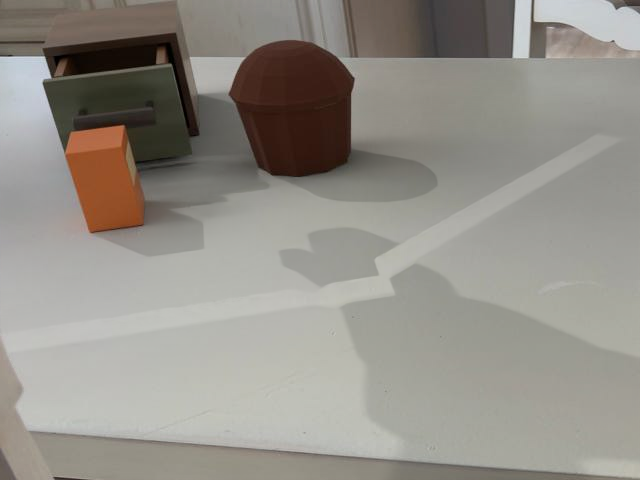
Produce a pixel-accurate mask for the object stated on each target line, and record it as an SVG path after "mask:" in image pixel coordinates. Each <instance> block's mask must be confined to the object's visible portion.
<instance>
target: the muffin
mask: <svg viewBox="0 0 640 480" xmlns="http://www.w3.org/2000/svg"><path fill="white" fill-rule="evenodd" d="M355 80H356V77H355V76H354V75H353V74H352V73H351V72H350V70H349V68H347V67H346V65H345V64H344V62H342V61H341V59H340V58H339V57H337V56H336V55H335V54H333V53H332V52H331V51H330V50H327V49H325V48H323V47H322V46H319V45H317V44H316V43H313V42H312V41H311V42H310V41H305V40H298V39H284V40H276V41H272V42H269V43H266V44H263V45H261V46H259V47H257V48H255V49H254V50H253V51H252V52H250V53H249V54H248V55H247V56H246V57H245V58H244V59H243V60H242V61H241V63H240V64H239V66H238V69H237V71H236V73H235V75H234V78H233V81H232V84H231V87H230V90H229V92H228V94H227V95H228V96H229V97H230V99H231V100H232V102H233V103H234V104H235V106H236V110H237V112H238V114H239V118H240V120H241V124H242V126H243V129H244V131H245V134H246V137H247V139H248V142H249V146H250V148H251V151H252V154H253V157H254V159H255V162H256V165H257V168H259V169H261V170H264V171H266V172H267V173H268V174H269V175H271V176H289V177H290V176H291V177H303V176H307V175H313V174H320V173H321V174H322V173H328V172H330V171H332V170H333V169H335V168H337V167H339V166H342V165H345V164H347V163H348V162H349V156H350V155H351V153H352V93H353V89H354V87H355Z"/></svg>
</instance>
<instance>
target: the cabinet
mask: <svg viewBox="0 0 640 480" xmlns="http://www.w3.org/2000/svg"><path fill="white" fill-rule="evenodd" d="M180 13H181V12H180V9H179V5H178V1H177V0H166V1H157V2H147V3H139V4H129V5H121V6H113V7H103V8H95V9H87V10H86V9H85V10H78V11H69V12H60V13H59V12H58V13H56V16H55V18H54V20H53V22H52V25H51V28H50V30H49V32H48V34H47V37H46V39H45V41H44V43H43V46H42V48H41V49H42V53H43V56H44V59H45V62H46V65H47V69H48V72H49V75H50V78H54V75H55V72H56V70H57V67H58V64H59V61H60V59H61V56H62V55H68V54H76V53H84V52H93V51H101V50H109V49H118V48H126V47H135V46H143V45H151V44H160V43H168V44H169V48H170V53H171V57H172V61H173V65H174V69H175V74H176V78H177V82H178V86H179V91H180V95H181V99H182V103H183V108H184V118H185V122H186V126H187V130H188V134H189V137H193V136H199V135H200V134H201V133H200V132H201V131H200V113H199V92H198V89H197V84H196V80H195V75H194V70H193V67H192V62H191V58H190V53H189V48H188V43H187V40H186V35H185V30H184V27H183V22H182V17H181V14H180Z"/></svg>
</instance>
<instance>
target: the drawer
mask: <svg viewBox="0 0 640 480" xmlns="http://www.w3.org/2000/svg"><path fill="white" fill-rule="evenodd" d="M41 85H42V87H43V91H44V93H45V97H46V99H47V102H48V106H49V109H50V112H51V116H52V118H53V122H54V125H55V127H56V131H57V134H58V137H59V140H60V143H61V147H62V150H63V153H64V154H65V152H66V148H67V145H68V141H69V137H70V134H71V132H76V131H83V130H91V129H99V128H106V127H114V126H122V125H124V126H125V128H126V132H127V136H128V139H129V143H130V147H131V150H132V154H133V158H134V161H135V163H137V162H145V161H153V160H159V159H166V158H167V159H168V158H173V157H182V156H188V155H189V156H190V155H193V148H192V144H191V139H190V136H189V134H188V130H187V126H186V122H185V118H184V108H183V103H182V99H181V95H180V91H179V86H178V82H177V78H176V74H175V69H174V65H173V61H172V57H171V53H170V48H169V44H168V43H160V44H151V45H143V46H135V47H126V48H118V49H109V50H101V51H93V52H84V53H76V54H68V55H62V56H61V59H60V61H59V64H58V67H57V70H56V72H55V75H54V78H51V77H50V78H44V79H43V80H42V84H41Z"/></svg>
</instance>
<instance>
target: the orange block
mask: <svg viewBox="0 0 640 480" xmlns="http://www.w3.org/2000/svg"><path fill="white" fill-rule="evenodd" d="M64 157H65V161H66V163H67V166H68V170H69V173H70V177H71V179H72V182H73V186H74V188H75V191H76V195H77V198H78V202H79V204H80V207H81V210H82V214H83V216H84V217H83V218H84V220H85V223H86V226H87V230H88V233H95V232H102V231H108V230H116V229H123V228H129V227H136V226H143V225H144V219H145V208H146V207H145V206H146V197H145V193H144V189H143V187H142V183H141V179H140V176H139V172H138V169H137V165H136V162H135V161H134V158H133V154H132V150H131V147H130V143H129V139H128V136H127V132H126V128H125V126H124V125H122V126H114V127H106V128H99V129H91V130H83V131H76V132H71V134H70V137H69V141H68V145H67V148H66V152H65V153H64Z"/></svg>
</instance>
